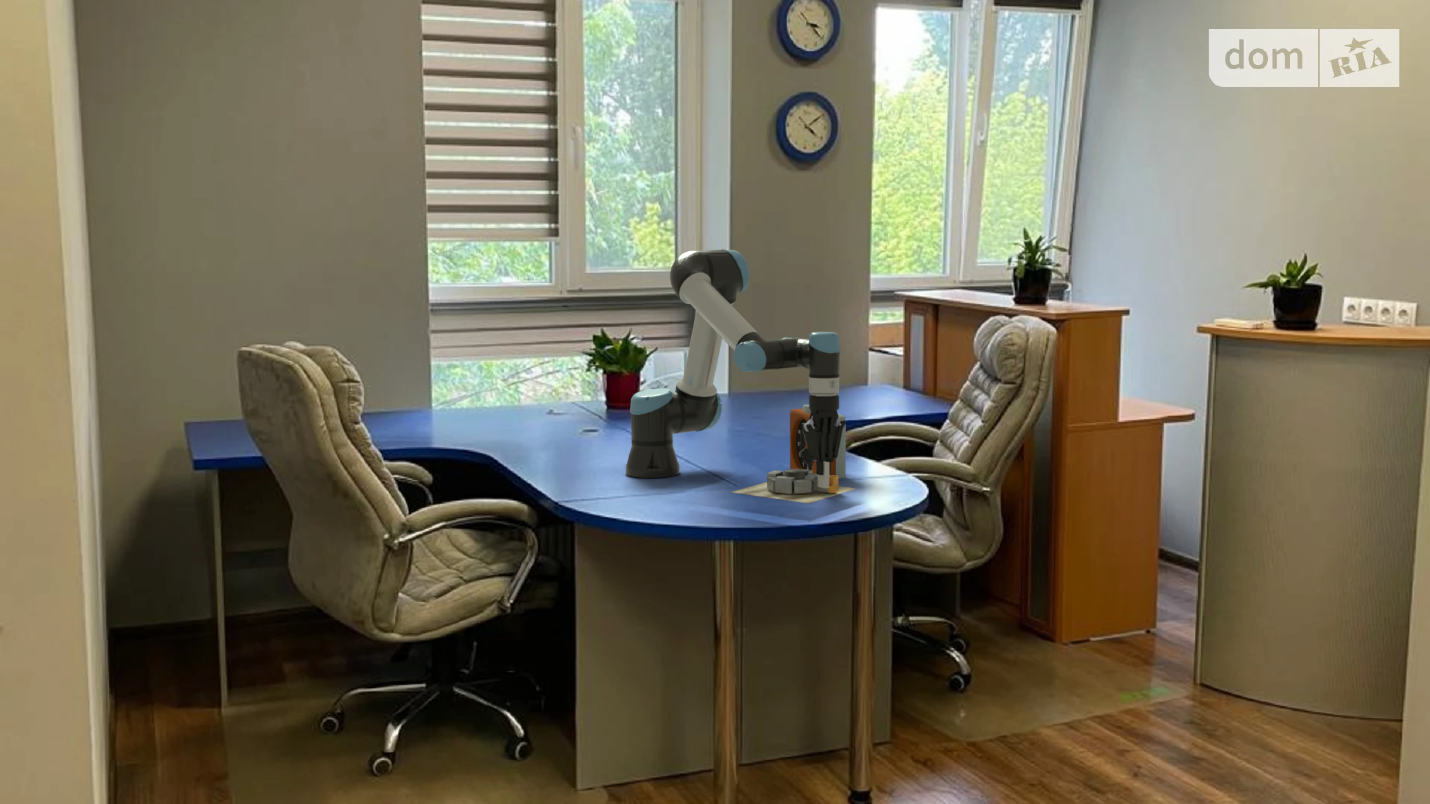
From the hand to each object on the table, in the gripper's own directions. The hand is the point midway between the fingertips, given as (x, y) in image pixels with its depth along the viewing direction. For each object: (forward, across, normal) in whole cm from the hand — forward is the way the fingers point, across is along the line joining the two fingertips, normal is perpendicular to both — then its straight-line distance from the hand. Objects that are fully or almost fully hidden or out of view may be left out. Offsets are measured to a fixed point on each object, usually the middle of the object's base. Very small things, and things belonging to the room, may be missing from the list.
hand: (823, 487), depth 338 cm
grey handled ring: (+2, -1, +7) cm, 7 cm away
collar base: (+4, -2, +9) cm, 10 cm away
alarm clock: (+3, +18, +23) cm, 30 cm away
